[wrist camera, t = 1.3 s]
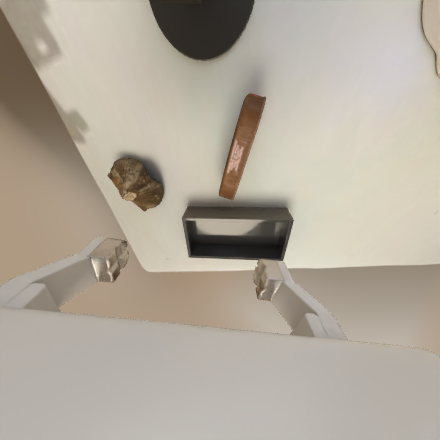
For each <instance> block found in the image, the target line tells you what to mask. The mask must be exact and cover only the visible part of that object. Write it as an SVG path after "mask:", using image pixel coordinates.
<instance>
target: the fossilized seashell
mask: <svg viewBox="0 0 440 440" xmlns="http://www.w3.org/2000/svg"><path fill="white" fill-rule="evenodd" d="M108 177H109V178H110V179H111V180H112V182H113V183H114V184H115V186H116V187H117V189H118V190H119V193H120V195H121V197H122V198H123V199H125V200H127V201H132V202H134V203H135V204H136V205H137V206H138V207H140V208H141V209H142V210H143V211H146V210H147V209H149V208H153V207H156V206H157V205H159V204H160V202H161V201H162V198H163V194H164V189H163V186H162V185H161V183H160V182H158V181H157V180H154V179H152V178H150V177H149V175H148V173H147V171H146V168H145V167H144V165H143V164H142V163H141V162H140V161H139V160H136V159H133V158H127V159H126V158H124V159H119V160H117V161H115V162H114V165H113V167H112V169H111V172H110V173H109V174H108Z"/></svg>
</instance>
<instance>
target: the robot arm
mask: <svg viewBox="0 0 440 440" xmlns="http://www.w3.org/2000/svg"><path fill="white" fill-rule="evenodd" d="M422 23H423V29H424V33H425V36H426V38H427V40H428V42H429V43H430V45H431V46H432V48H433V49H434V51H435V53H436V67H437V74H438V76H439V77H440V0H424V1H423V9H422ZM126 247H127V242H126V241H124V240H119V239H112V238H105V237H96V238H95V239H94V240H93V241H92V242H90V243H89V244H88V245H87V246H86V247H85V248H84V249H83V250H81V251H80V252H79V253H78V254H77V255H72V256H69V257H66V258H64V259H61V260H59V261H56V262H53V263H51V264H48V265H46V266H43V267H40V268H38V269H35V270H33V271H30V272H28V273H25V274H22V275H20V276H17V277H15V278H12V279H10V280H9V281H7V282H6V283H4V284H3V285H2V286H0V440H440V356H439V355H437V354H435V353H434V352H432V351H430V350H427V349H424V348H418V347H409V346H398V345H389V344H379V343H368V342H358V341H348V339H347V338H346V336H345V334H344V333H343V331H342V329H341V328H340V326H339V324H338V322H337V321H336V319H335V317H334V315H333V314H331V313H330V312H329V311H328V310H327V309H326V308H325V307H323V306H322V305H321V304H320V303H319V302H318V301H316V300H315V299H314V298H313V297H312V296H311V295H310V294H308V293H307V292H306V291H305V290H304V289H303V288H302V287H300V286H299V285H298V284H297V283H295V282H293V280H292V278H291V276H290V273H289V272H288V269H287V267H286V265H285V263H284V262H283V261H277V260H268V259H259V260H258V262H257V264H258V267H256V268H255V270H254V283H255V284H256V285H257V287H256V293H257V298H258V299H261V300H268V301H272V303H273V305H274V306H275V307H276V309H277V310H278V311H279V313H280V314H281V315H282V317H283V318H284V319H285V321H286V322H287V323H288V325H289V326H290V327H291V329H292V330H293V331H292V332H291V334H290V335H287V334H276V333H267V332H257V331H246V330H236V329H226V328H216V327H206V326H196V325H185V324H175V323H165V322H155V321H145V320H134V319H125V318H115V317H105V316H95V315H84V314H73V313H64V312H61V311H60V310H59V307H60V306H62V305H63V304H65V303H66V302H68V301H69V300H71V299H72V298H74V297H75V296H77V295H78V294H80V293H81V292H83V291H84V290H86V289H87V288H89V287H91V286H92V285H94V284H95V283H97V281H102V282H114V281H115V280H116V278H117V277H118V275H119V274H120V269H122V268H124V267H125V265H126V264H127V261H128V258H129V253H128V251H127V250H126V249H125V248H126Z"/></svg>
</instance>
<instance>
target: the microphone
mask: <svg viewBox="0 0 440 440" xmlns="http://www.w3.org/2000/svg"><path fill="white" fill-rule="evenodd" d="M149 1H150V5H151V8H152V11H153V14H154V16H155V19H156V21H157V23H158V25H159V27H160V29H161V30H162V32H163V34H164V35H165V37H166V38H167V39H168V41H169V42H170V43H171V44H172V45H173V46H174V47H175V48H176V49H177V50H178V51H179V52H181V53H182V54H184V55H185V56H187V57H189V58H192V59H195V60H201V61H206V60H212V59H215V58H218V57H220V56H221V55H223V54H225V53H226V52H227V51H229V50H230V49H231V48H232V47H233V46H234V44H235V43H236V42H237V41H238V39H239V38H240V36H241V35H242V33H243V31H244V29H245V27H246V25H247V23H248V20H249V18H250V15H251V12H252V8H253V4H254V0H149Z"/></svg>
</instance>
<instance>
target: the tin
mask: <svg viewBox="0 0 440 440" xmlns="http://www.w3.org/2000/svg"><path fill="white" fill-rule="evenodd" d="M265 101H266V97H261V96H258V95H255V94H251V93H249V94H248V95H247V96H246V97H245V99H244V102H243V105H242V108H241V112H240V115H239V119H238V122H237V126H236V129H235V133H234V136H233V140H232V144H231V147H230V151H229V154H228V158H227V162H226V166H225V170H224V174H223V178H222V182H221V186H220V190H219V196H221V197H224V198H227V199H230V200H233V199H234V196H235V194H236V191H237V188H238V185H239V182H240V179H241V176H242V173H243V170H244V167H245V164H246V161H247V158H248V155H249V152H250V149H251V146H252V143H253V140H254V138H255V135H256V132H257V129H258V125H259V122H260V119H261V116H262V112H263V109H264V105H265Z"/></svg>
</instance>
